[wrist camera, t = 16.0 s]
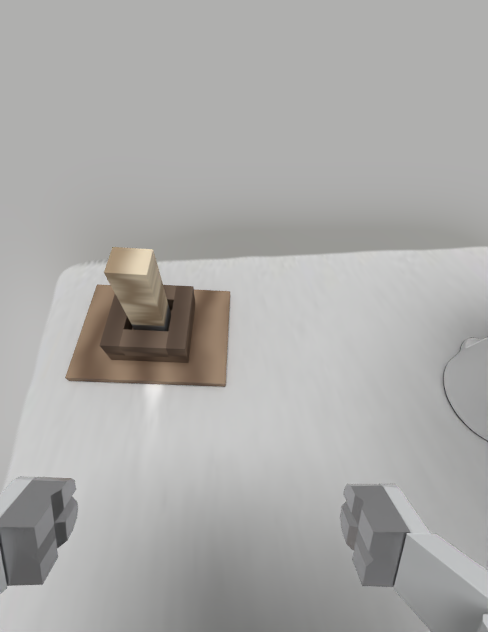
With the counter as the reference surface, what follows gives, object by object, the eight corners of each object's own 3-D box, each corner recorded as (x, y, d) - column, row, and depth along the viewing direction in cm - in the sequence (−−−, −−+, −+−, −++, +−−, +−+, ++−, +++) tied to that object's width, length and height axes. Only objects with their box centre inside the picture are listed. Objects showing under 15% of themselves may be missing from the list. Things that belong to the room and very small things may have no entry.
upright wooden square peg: (171, 314, 45) (152, 249, 33) (167, 335, 43) (146, 274, 31) (141, 313, 45) (112, 247, 33) (137, 334, 43) (104, 272, 31)
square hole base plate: (229, 295, 51) (230, 273, 46) (225, 386, 43) (225, 371, 38) (99, 288, 50) (85, 265, 45) (69, 380, 42) (47, 364, 37)
